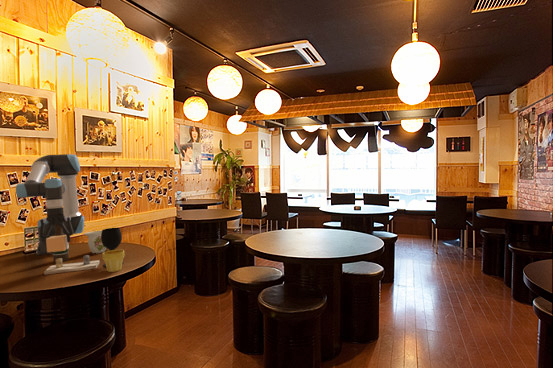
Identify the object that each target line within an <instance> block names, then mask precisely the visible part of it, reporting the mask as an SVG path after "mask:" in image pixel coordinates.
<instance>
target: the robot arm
mask: <svg viewBox="0 0 555 368" xmlns="http://www.w3.org/2000/svg"><path fill="white" fill-rule="evenodd" d="M79 172H81V165H80V161H79V158H78V157H77V155H76V154H70V153H67V154H66V153H64V154H46V155H42V156H41V157H39V158H37V159H35V160H34V161H33V163H32V164H31V167H30V172H29V174H28V175H27V177H26V180H25V182H24V183H23V182H21V183H18V184H16V185H15V194H16V195H17V197H18V198H36V197H37V198H38V197H45V205H46V217H44V218H41V219H39V220H38V221H37V234H38V245H37V248H36V255H37V256H38V255H39V256H46V255H53V252H47V243H46V239H47V238H49V237H51V236H54V235H55V225H60V226H61V228H62V230H63V234H64V235H66V237H65V242H66V249H68V250H69V247H70V246H69V243H71V237H72V236H73V235H76V234H82V233H83V231H84V230H85V229H84V228H85V216H84V215H82V214H83V213H82V212H80V209H79V201H78V200H79V199H78V190H77V189H78V188H77V180H76V177H78V174H79ZM51 173H54V174H55V173H56V174H57V177H59V178H46V179H45V177H46V175H48V174H51ZM44 179H45V180H44Z"/></svg>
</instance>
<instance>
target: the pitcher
mask: <svg viewBox="0 0 555 368" xmlns="http://www.w3.org/2000/svg"><path fill="white" fill-rule="evenodd" d="M82 233H83V232H82ZM101 233H102V230H93V231H89V232H88V231H87V232H84V233H83V234H84V235H85V236H87V237H88V240H87V241H88V242H87V243H88V249H89V250H90V252H91V253H92V254H94V253H96V254H101V253H102V254H103V253H104V252H106V250H107V248H106V247H105V246H104V245H103V244H102V241H101Z"/></svg>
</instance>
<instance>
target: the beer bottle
mask: <svg viewBox="0 0 555 368" xmlns="http://www.w3.org/2000/svg"><path fill="white" fill-rule="evenodd" d="M61 235H64V234H63V230H62V228H61V226H60V225H55V235H54V236H61ZM59 258H62V263H63V261H64V262H67V261H69V258H70V257H69V248H68V249H66V250H65V251H57V252H53V254H52V261H53V262H54V263H56V259H59Z"/></svg>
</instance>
